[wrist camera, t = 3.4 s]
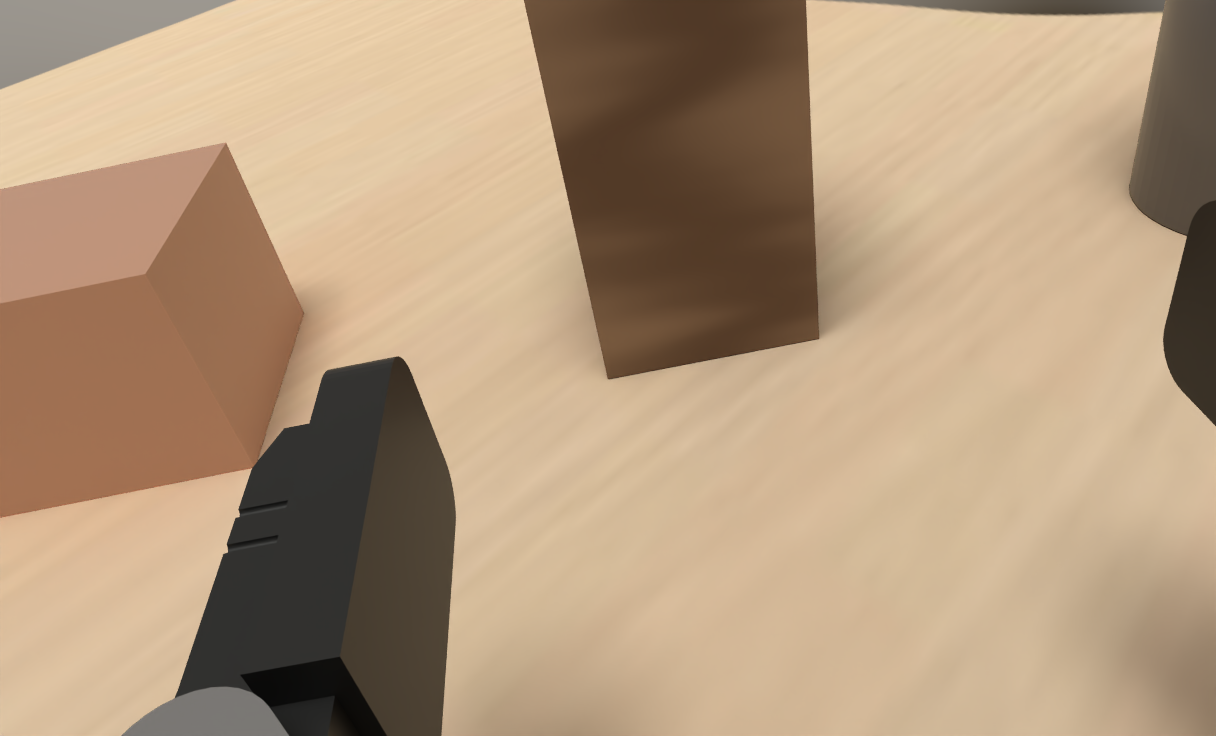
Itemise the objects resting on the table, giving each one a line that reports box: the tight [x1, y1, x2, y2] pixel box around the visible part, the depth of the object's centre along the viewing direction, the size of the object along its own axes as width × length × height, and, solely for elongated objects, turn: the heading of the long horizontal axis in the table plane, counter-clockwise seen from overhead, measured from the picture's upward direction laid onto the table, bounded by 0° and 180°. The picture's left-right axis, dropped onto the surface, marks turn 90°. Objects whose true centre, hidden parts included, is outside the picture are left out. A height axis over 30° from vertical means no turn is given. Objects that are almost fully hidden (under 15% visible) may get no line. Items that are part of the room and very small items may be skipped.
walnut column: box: [524, 0, 819, 379], centre depth 18 cm, size 5×5×11 cm
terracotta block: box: [0, 143, 304, 518], centre depth 20 cm, size 6×6×5 cm
